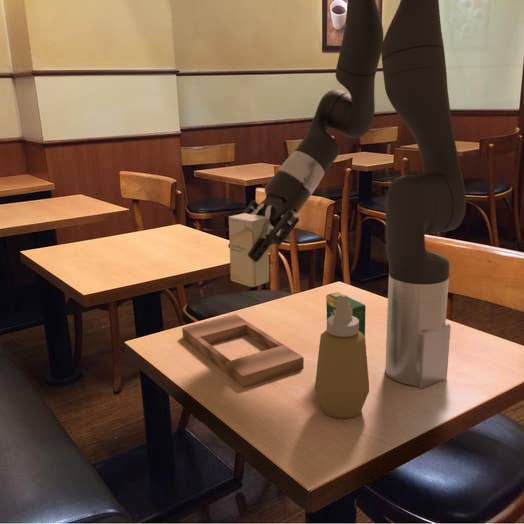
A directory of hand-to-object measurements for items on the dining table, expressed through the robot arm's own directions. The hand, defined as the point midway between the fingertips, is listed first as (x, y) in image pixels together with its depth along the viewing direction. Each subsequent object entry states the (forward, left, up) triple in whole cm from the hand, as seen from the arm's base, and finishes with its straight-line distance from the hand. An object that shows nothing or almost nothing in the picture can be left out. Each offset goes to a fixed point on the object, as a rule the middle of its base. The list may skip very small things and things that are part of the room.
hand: (241, 254), depth 103 cm
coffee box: (-18, -9, -18) cm, 27 cm away
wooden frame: (-1, +2, -18) cm, 18 cm away
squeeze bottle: (-27, -1, -18) cm, 33 cm away
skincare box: (0, -2, -6) cm, 6 cm away
